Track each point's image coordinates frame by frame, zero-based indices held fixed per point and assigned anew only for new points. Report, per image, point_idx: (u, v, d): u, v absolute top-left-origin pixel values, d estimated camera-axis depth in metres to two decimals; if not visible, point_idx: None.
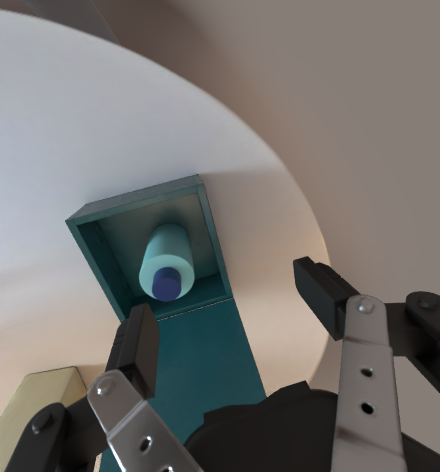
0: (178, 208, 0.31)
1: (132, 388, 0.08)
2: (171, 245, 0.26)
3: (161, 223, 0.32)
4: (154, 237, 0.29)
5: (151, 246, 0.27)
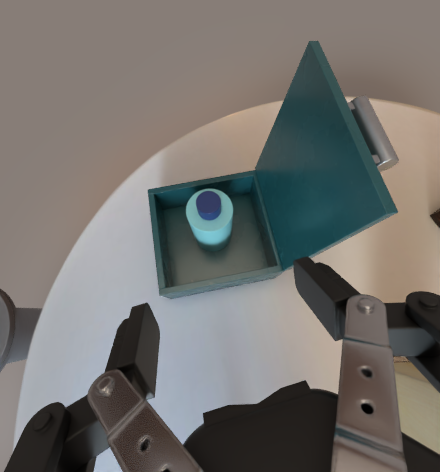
0: (182, 223, 0.38)
1: (132, 388, 0.08)
2: None
3: (194, 238, 0.37)
4: (194, 236, 0.33)
5: (193, 231, 0.31)
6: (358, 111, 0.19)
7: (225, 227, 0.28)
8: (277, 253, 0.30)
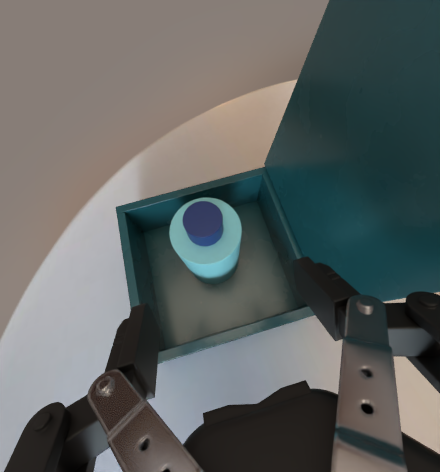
0: (171, 248, 0.28)
1: (132, 388, 0.08)
2: None
3: None
4: None
5: None
6: None
7: (232, 254, 0.18)
8: None
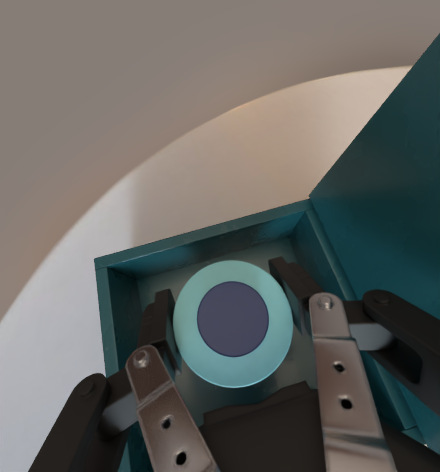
0: None
1: (163, 366, 0.08)
2: None
3: None
4: None
5: None
6: None
7: None
8: (396, 395, 0.13)
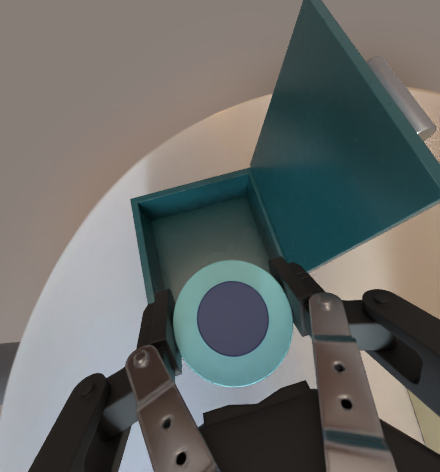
0: (174, 234, 0.33)
1: (163, 366, 0.08)
2: None
3: (188, 250, 0.32)
4: None
5: None
6: None
7: None
8: (284, 259, 0.26)
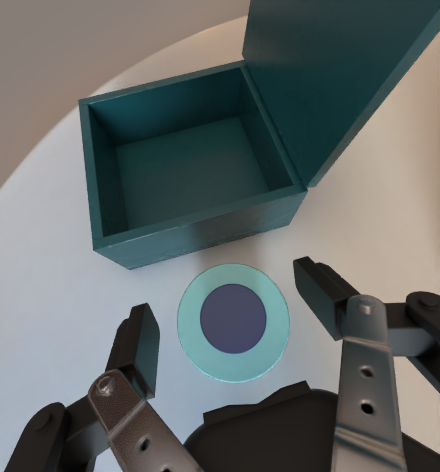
0: (144, 162, 0.25)
1: (132, 388, 0.08)
2: None
3: (161, 179, 0.25)
4: None
5: None
6: None
7: None
8: (291, 167, 0.18)
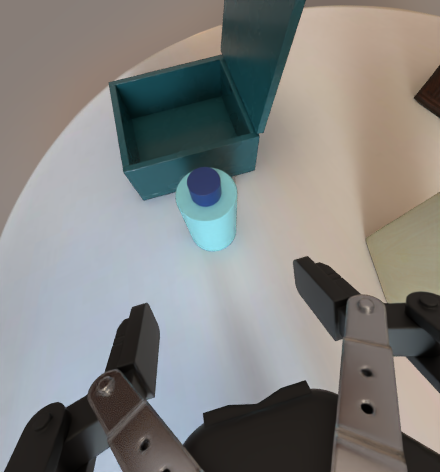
0: (152, 129, 0.35)
1: (132, 388, 0.08)
2: None
3: (165, 140, 0.34)
4: (190, 232, 0.27)
5: (187, 225, 0.24)
6: None
7: (229, 214, 0.21)
8: (249, 122, 0.28)
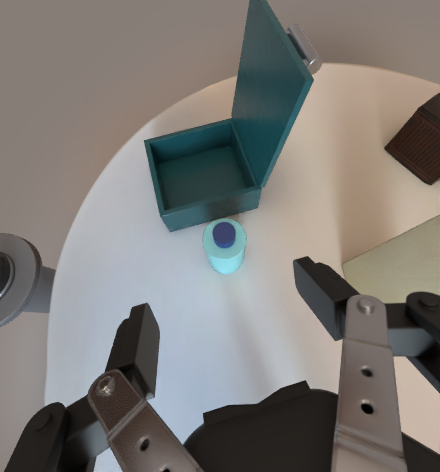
0: (175, 172, 0.44)
1: (132, 388, 0.08)
2: None
3: (186, 182, 0.43)
4: (210, 261, 0.35)
5: (209, 258, 0.33)
6: (292, 34, 0.26)
7: (240, 253, 0.30)
8: (254, 177, 0.37)
